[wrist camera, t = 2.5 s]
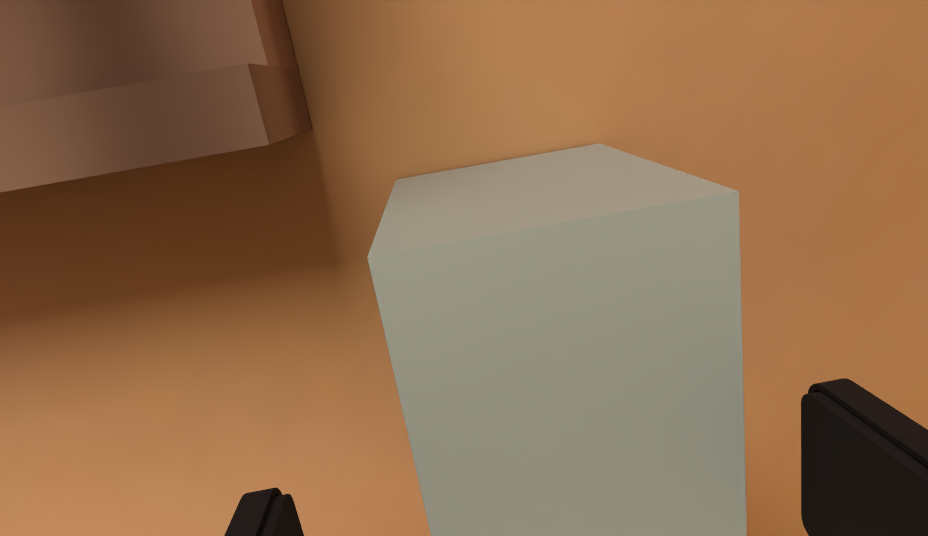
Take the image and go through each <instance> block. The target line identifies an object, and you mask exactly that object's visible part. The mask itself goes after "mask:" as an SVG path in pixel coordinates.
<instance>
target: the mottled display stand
mask: <svg viewBox="0 0 928 536" xmlns="http://www.w3.org/2000/svg"><path fill="white" fill-rule="evenodd" d="M311 129H312V127H311V123H310V118H309V114H308V110H307V106H306V102H305V98H304V94H303V90H302V85H301V81H300V77H299V73H298V69H297V65H296V61H295V57H294V52H293V48H292V44H291V40H290V36H289V32H288V28H287V24H286V19H285V15H284V11H283V7H282V3H281V0H0V192H6V191H12V190H17V189H23V188H29V187H34V186H40V185H46V184H51V183H57V182H63V181H68V180H74V179H80V178H85V177H91V176H96V175H102V174H108V173H113V172H119V171H125V170H130V169H136V168H142V167H147V166H153V165H159V164H164V163H170V162H176V161H181V160H187V159H193V158H198V157H204V156H210V155H215V154H221V153H227V152H232V151H238V150H244V149H249V148H255V147H261V146H266V145H271V144H273V143H276V142H279V141H281V140H284V139H287V138H289V137H292V136H295V135H297V134H300V133H303V132H305V131H308V130H311Z"/></svg>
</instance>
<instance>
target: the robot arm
mask: <svg viewBox="0 0 928 536" xmlns="http://www.w3.org/2000/svg"><path fill="white" fill-rule="evenodd" d="M801 515H802V521H803V525H804V527H805V529H806V531H807V533H808V535H809V536H928V430H927V429H925V428H924V427H922V426H921V425H919V424H918V423H916V422H915V421H913V420H912V419H910V418H908V417H907V416H905V415H904V414H902V413H901V412H899V411H898V410H896V409H895V408H893V407H891V406H890V405H888V404H887V403H885V402H884V401H882V400H881V399H879V398H878V397H876V396H874V395H873V394H871V393H870V392H868V391H867V390H865V389H864V388H862V387H861V386H859V385H857V384H856V383H854V382H853V381H851V380H849V379H838V380H833V381H827V382H822V383H817V384H813V385H812V386H810V388H809V390H808V394H805V395H804V396H803V397H802V401H801ZM225 536H304V534H303V531H302V528H301V524H300V521H299V518H298V514H297V511H296V508H295V504H294V501H293V498H292V496H291V495H290V494H285V495H282V493H281V491H280V490H279V489H278V488H271V489H266V490H261V491H256V492H251V493H246V494H244V495H243V496H242V498H241V500H240V502H239V504H238V506H237V509H236V511H235V513H234V515H233V518H232V520H231V522H230V524H229V527H228V529H227V531H226V533H225Z"/></svg>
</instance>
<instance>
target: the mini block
mask: <svg viewBox="0 0 928 536" xmlns="http://www.w3.org/2000/svg"><path fill="white" fill-rule="evenodd" d="M367 258H368V263H369V267H370V272H371V276H372V280H373V285H374V289H375V293H376V298H377V302H378V306H379V311H380V315H381V319H382V324H383V328H384V332H385V337H386V341H387V346H388V350H389V354H390V359H391V363H392V367H393V372H394V376H395V380H396V385H397V389H398V393H399V398H400V402H401V407H402V411H403V415H404V420H405V424H406V428H407V433H408V437H409V441H410V446H411V450H412V454H413V459H414V463H415V468H416V472H417V476H418V481H419V485H420V489H421V494H422V498H423V502H424V507H425V511H426V515H427V520H428V524H429V529H430V533H431V536H747V522H746V480H745V437H744V394H743V352H742V309H741V267H740V224H739V191H737V190H734V189H731V188H728V187H725V186H722V185H719V184H716V183H713V182H710V181H708V180H705V179H702V178H699V177H696V176H693V175H690V174H687V173H684V172H681V171H679V170H676V169H673V168H670V167H667V166H664V165H661V164H658V163H655V162H652V161H650V160H647V159H644V158H641V157H638V156H635V155H632V154H629V153H626V152H623V151H620V150H618V149H615V148H612V147H609V146H606V145H603V144H600V143H599V144H594V145H588V146H582V147H577V148H571V149H565V150H560V151H554V152H548V153H543V154H537V155H532V156H526V157H520V158H515V159H509V160H503V161H498V162H492V163H486V164H481V165H475V166H469V167H464V168H458V169H453V170H447V171H441V172H436V173H430V174H424V175H419V176H413V177H407V178H402V179H396V181H395V184H394V186H393V189H392V192H391V194H390V197H389V200H388V202H387V205H386V208H385V211H384V213H383V216H382V219H381V221H380V224H379V227H378V229H377V232H376V235H375V237H374V240H373V243H372V246H371V248H370V251H369V254H368V256H367Z"/></svg>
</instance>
